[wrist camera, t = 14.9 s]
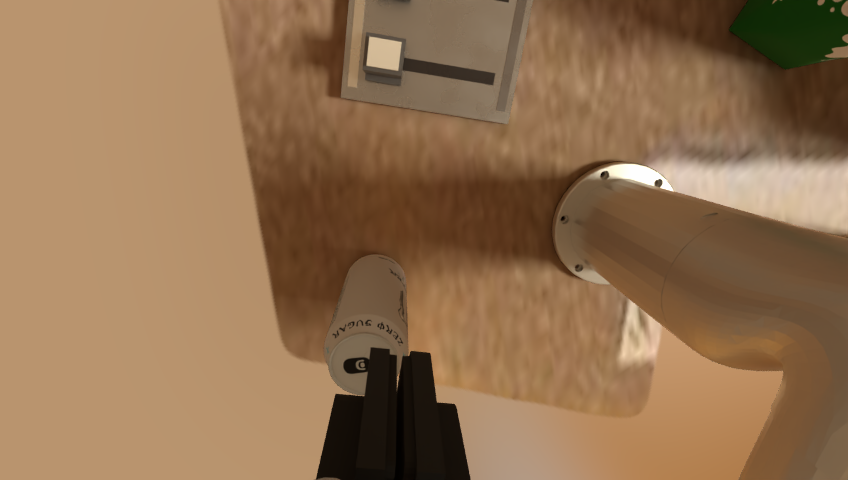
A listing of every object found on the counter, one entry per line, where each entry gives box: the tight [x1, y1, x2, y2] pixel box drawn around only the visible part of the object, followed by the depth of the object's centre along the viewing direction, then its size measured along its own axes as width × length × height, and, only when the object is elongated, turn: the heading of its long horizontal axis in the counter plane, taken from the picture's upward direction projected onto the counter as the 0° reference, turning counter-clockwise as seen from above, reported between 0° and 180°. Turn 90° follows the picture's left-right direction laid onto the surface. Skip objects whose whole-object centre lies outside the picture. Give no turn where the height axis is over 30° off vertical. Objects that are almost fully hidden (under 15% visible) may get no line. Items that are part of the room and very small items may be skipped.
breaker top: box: [362, 32, 406, 86], centre depth 32 cm, size 3×4×4 cm
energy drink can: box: [324, 254, 408, 395], centre depth 34 cm, size 6×6×15 cm
